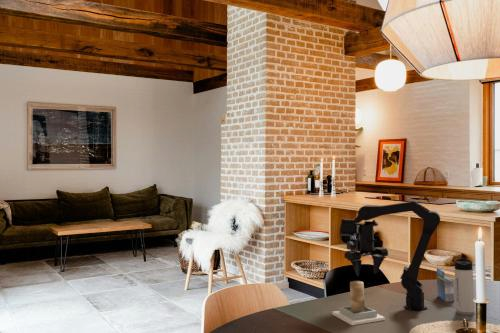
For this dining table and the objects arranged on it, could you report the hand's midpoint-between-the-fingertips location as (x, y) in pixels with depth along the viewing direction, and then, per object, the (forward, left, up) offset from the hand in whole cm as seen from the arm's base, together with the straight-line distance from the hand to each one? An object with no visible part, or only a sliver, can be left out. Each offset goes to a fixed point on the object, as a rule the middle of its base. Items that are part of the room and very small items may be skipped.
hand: (366, 274), depth 194 cm
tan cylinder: (+14, +11, -11) cm, 21 cm away
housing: (+14, +11, -12) cm, 21 cm away
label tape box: (-32, +11, -13) cm, 36 cm away
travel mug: (-23, +28, -12) cm, 38 cm away
